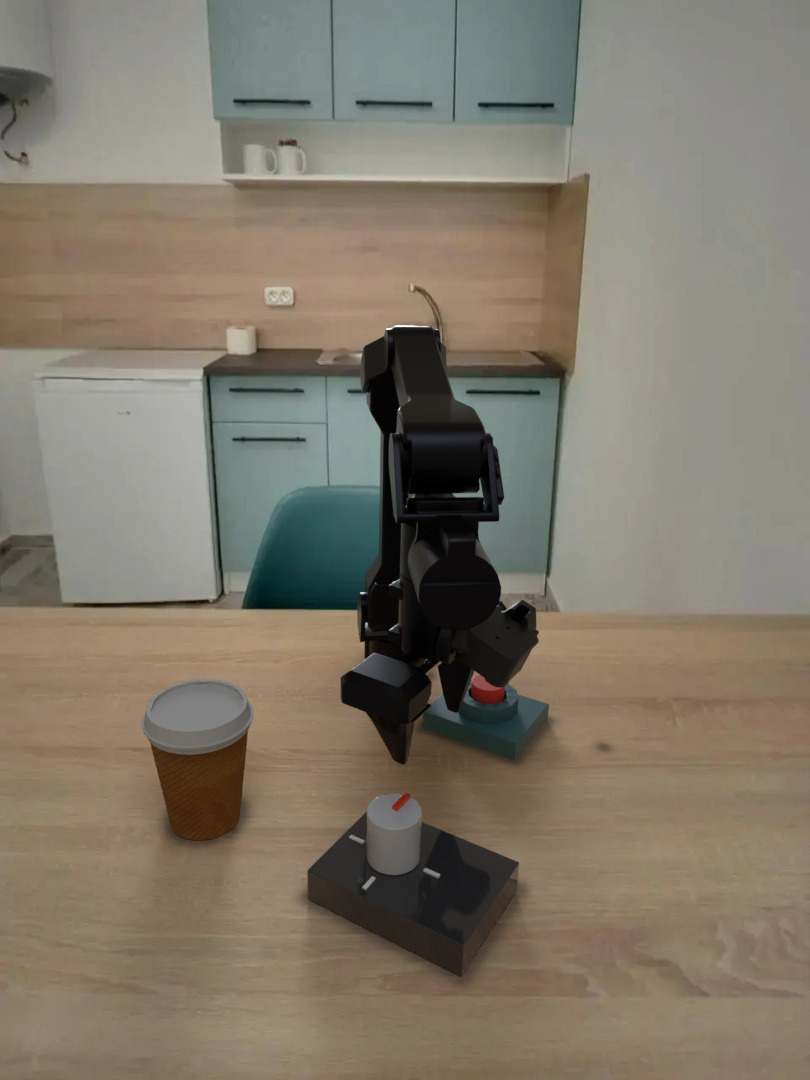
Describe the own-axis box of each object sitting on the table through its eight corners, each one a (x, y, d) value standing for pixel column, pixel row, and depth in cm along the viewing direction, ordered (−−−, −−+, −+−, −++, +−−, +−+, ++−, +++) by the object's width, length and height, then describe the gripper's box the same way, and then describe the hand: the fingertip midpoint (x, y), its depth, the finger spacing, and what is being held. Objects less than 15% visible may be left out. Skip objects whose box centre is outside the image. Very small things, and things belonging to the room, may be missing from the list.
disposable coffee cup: (164, 866, 70) (153, 746, 66) (142, 801, 78) (130, 690, 74) (272, 833, 74) (267, 718, 70) (240, 774, 82) (235, 668, 78)
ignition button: (465, 698, 90) (466, 684, 89) (480, 684, 93) (480, 670, 92) (495, 708, 88) (496, 694, 87) (509, 693, 91) (510, 679, 90)
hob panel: (307, 899, 67) (306, 868, 66) (374, 829, 75) (375, 800, 74) (461, 977, 60) (463, 944, 59) (516, 891, 68) (519, 860, 67)
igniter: (422, 728, 91) (423, 696, 89) (460, 693, 98) (461, 663, 97) (514, 761, 85) (517, 728, 84) (547, 721, 93) (550, 689, 91)
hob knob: (402, 883, 65) (404, 833, 63) (355, 862, 67) (356, 813, 65) (429, 850, 68) (431, 802, 67) (384, 830, 71) (385, 783, 69)
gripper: (470, 646, 55) (459, 832, 61) (571, 557, 70) (554, 714, 76) (335, 604, 61) (336, 779, 67) (456, 530, 76) (448, 678, 81)
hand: (428, 735), depth 73 cm, fingers open, 9 cm apart
